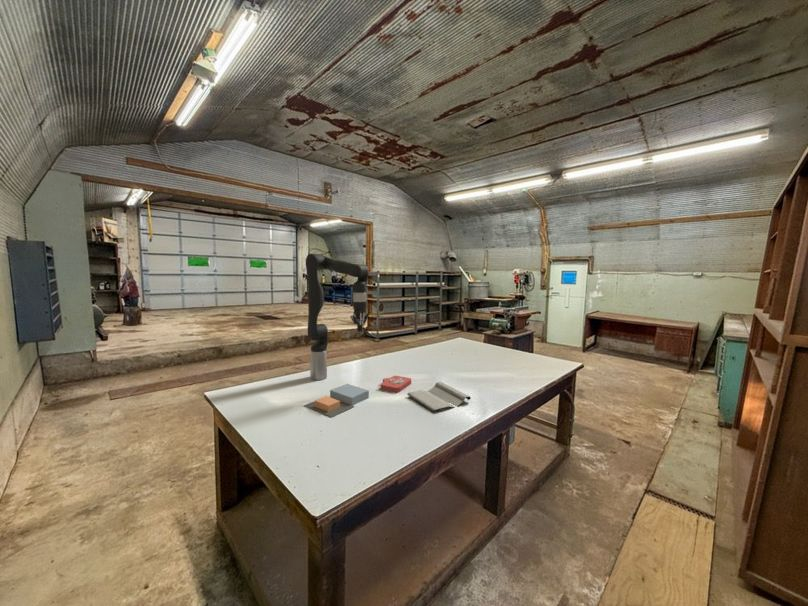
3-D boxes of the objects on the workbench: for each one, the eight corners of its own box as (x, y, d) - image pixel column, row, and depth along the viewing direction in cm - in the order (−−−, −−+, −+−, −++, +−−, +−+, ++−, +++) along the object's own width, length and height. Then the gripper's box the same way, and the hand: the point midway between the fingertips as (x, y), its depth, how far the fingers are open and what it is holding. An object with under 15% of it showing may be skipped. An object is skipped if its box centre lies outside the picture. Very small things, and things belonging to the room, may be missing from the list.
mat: (406, 397, 166) (406, 389, 165) (441, 389, 179) (441, 381, 178) (434, 414, 147) (434, 405, 146) (470, 403, 159) (471, 394, 159)
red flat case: (390, 373, 193) (412, 377, 186) (390, 379, 193) (412, 383, 187) (374, 382, 177) (398, 387, 170) (374, 389, 177) (398, 394, 171)
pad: (304, 405, 153) (304, 405, 153) (326, 396, 164) (326, 396, 164) (331, 417, 141) (331, 416, 141) (354, 407, 153) (354, 406, 152)
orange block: (326, 395, 157) (326, 401, 158) (314, 400, 152) (314, 406, 152) (339, 400, 151) (339, 406, 152) (328, 405, 146) (328, 412, 146)
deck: (330, 397, 164) (330, 390, 163) (347, 390, 173) (347, 383, 173) (351, 405, 154) (351, 397, 154) (368, 397, 164) (368, 390, 163)
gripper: (363, 299, 182) (363, 328, 184) (346, 300, 172) (346, 332, 174) (372, 300, 178) (372, 330, 180) (356, 301, 167) (356, 334, 169)
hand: (359, 331), depth 177 cm, fingers closed
